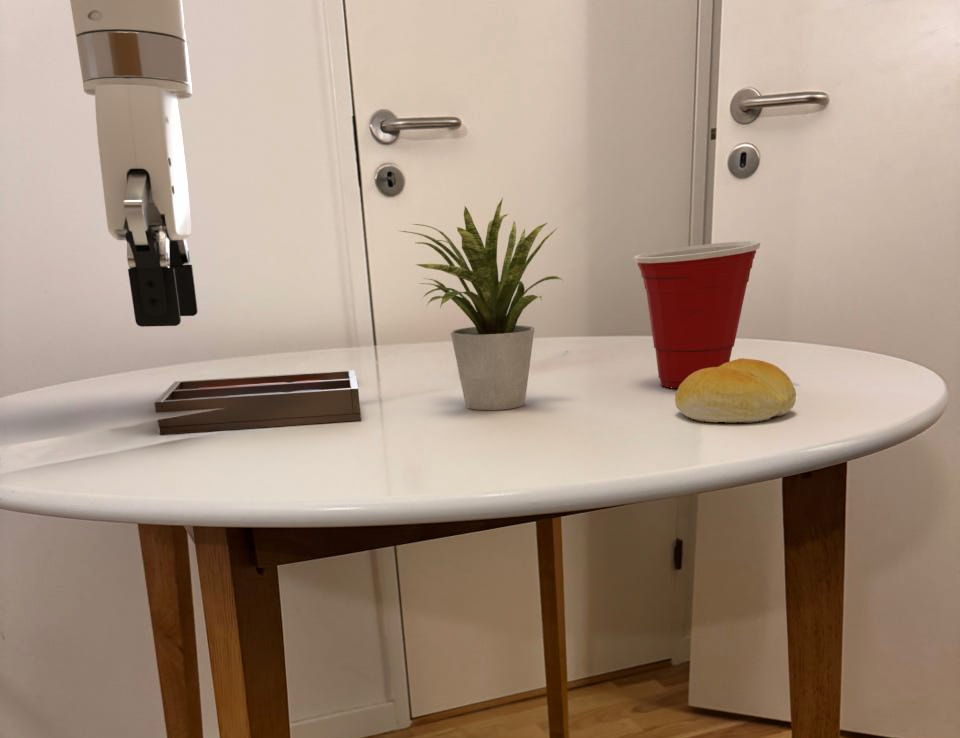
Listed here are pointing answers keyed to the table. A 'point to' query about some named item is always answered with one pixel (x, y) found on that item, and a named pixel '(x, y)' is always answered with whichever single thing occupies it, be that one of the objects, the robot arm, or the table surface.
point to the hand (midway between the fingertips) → (169, 320)
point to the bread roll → (736, 392)
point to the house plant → (490, 314)
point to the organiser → (260, 402)
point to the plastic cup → (695, 304)
